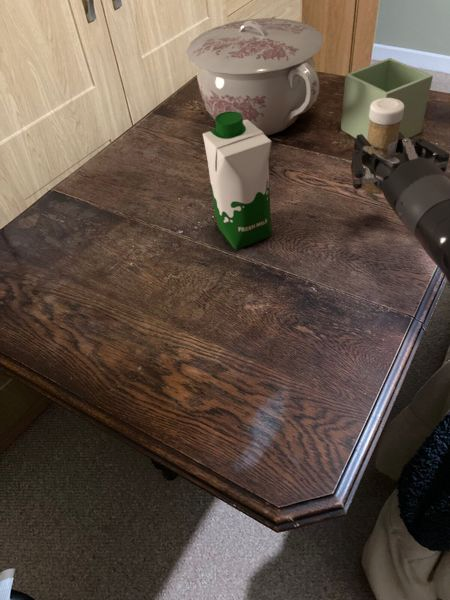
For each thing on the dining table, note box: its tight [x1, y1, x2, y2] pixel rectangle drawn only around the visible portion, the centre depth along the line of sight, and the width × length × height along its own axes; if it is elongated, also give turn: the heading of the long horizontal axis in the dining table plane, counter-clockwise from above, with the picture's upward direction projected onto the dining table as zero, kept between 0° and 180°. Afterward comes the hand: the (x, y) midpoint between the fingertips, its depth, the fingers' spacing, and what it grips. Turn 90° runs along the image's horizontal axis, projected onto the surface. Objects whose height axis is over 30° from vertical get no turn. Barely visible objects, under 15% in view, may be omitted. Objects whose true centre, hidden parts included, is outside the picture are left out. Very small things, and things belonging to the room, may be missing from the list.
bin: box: [340, 57, 434, 140], centre depth 98 cm, size 11×11×12 cm
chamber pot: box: [185, 17, 324, 137], centre depth 103 cm, size 28×28×21 cm
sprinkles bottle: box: [361, 98, 404, 195], centre depth 73 cm, size 5×5×13 cm
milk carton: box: [202, 111, 273, 251], centre depth 77 cm, size 9×9×20 cm
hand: (374, 137), depth 74 cm, fingers closed on sprinkles bottle, 4 cm apart
